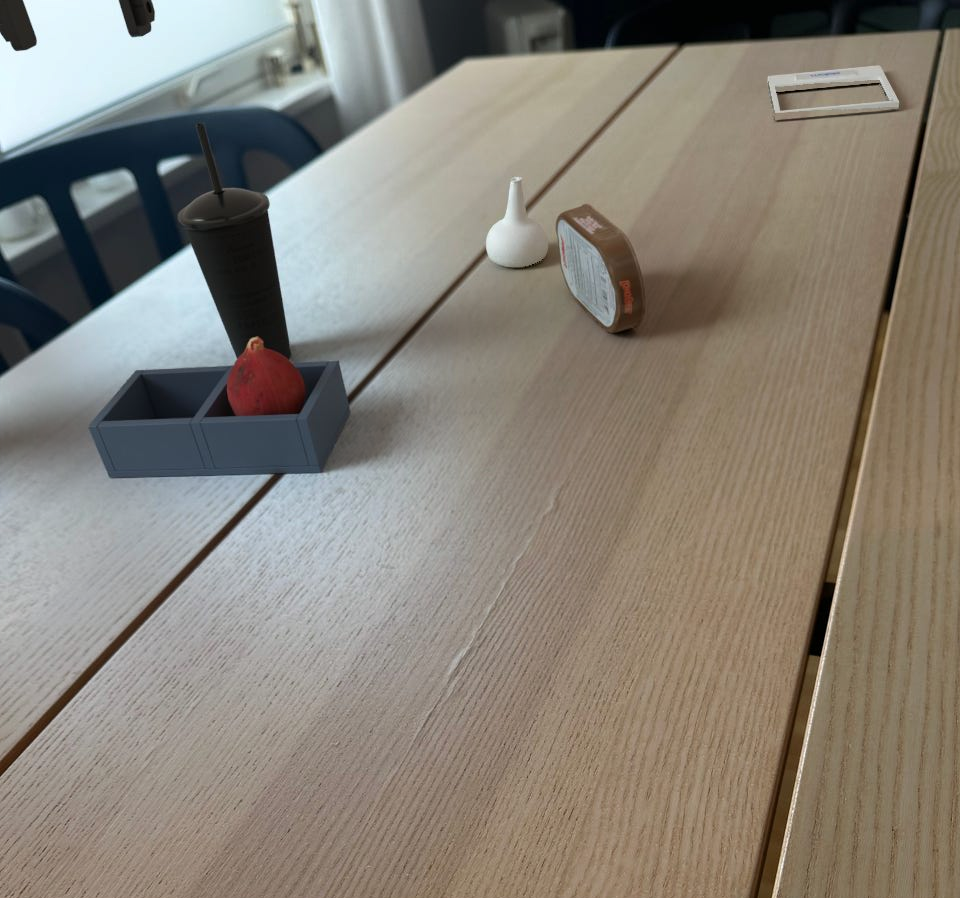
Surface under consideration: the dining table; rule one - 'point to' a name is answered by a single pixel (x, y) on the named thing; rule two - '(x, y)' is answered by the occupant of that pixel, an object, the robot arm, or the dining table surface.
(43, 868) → the dining table surface
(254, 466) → the compartment box
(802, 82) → the photo frame
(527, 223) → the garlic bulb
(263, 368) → the pomegranate
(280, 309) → the drinking cup
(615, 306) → the tin
